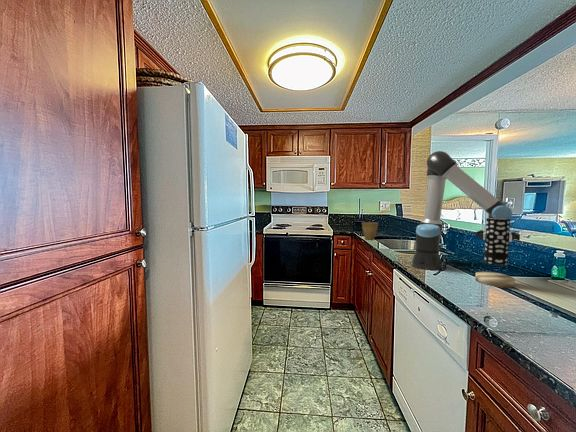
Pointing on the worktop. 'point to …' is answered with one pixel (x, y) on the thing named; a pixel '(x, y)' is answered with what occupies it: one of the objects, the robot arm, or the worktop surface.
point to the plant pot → (369, 230)
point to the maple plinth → (495, 279)
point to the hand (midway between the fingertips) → (497, 237)
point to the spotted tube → (497, 241)
